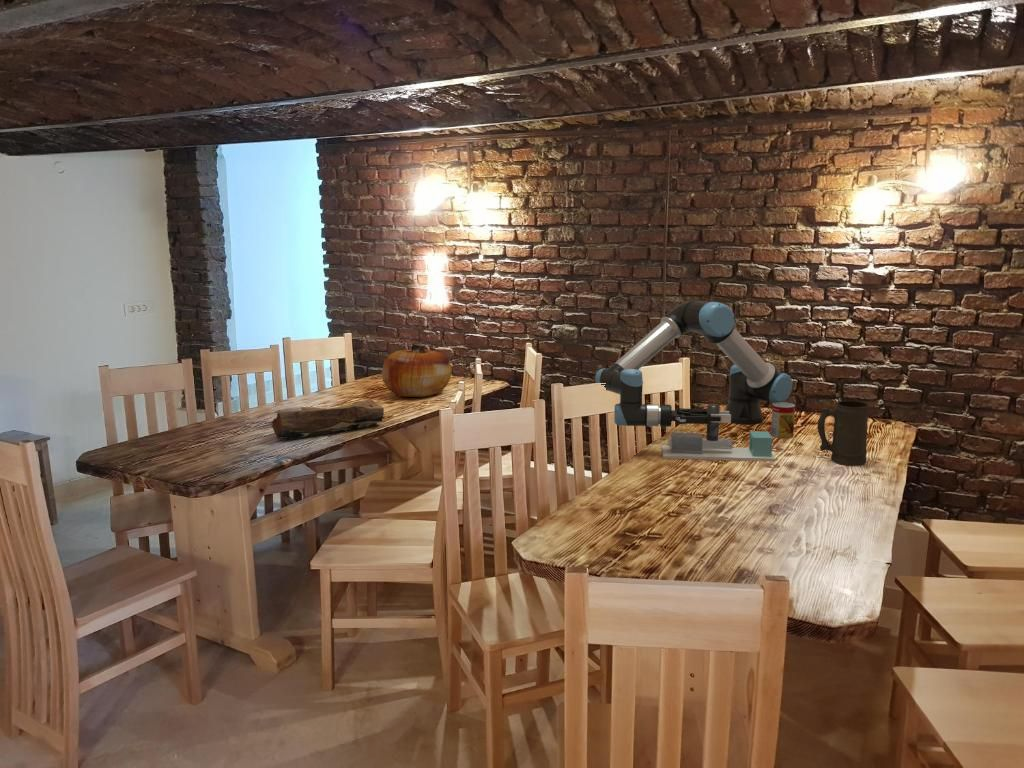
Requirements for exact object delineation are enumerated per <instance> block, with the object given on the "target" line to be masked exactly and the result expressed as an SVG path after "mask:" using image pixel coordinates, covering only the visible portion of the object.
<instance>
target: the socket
mask: <svg viewBox="0 0 1024 768" xmlns="http://www.w3.org/2000/svg"><path fill="white" fill-rule="evenodd" d="M748 443H749V444H748V448H749V450H750V452H751V454H752V456H761V457H771V454H773V452H772V450H773V437H772V436H771V433H770V432H769V431H760V430H759V431H752V430H751V431H749V442H748Z"/></svg>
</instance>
